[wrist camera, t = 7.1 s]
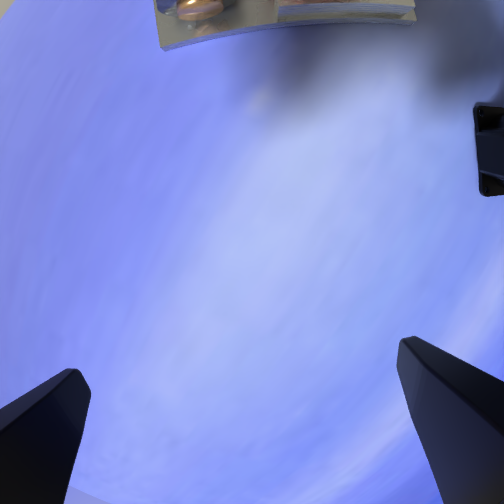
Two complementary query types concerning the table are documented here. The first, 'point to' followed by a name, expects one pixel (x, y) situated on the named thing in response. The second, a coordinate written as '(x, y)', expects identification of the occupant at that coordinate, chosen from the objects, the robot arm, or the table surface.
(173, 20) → the motor mount
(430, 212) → the table surface
